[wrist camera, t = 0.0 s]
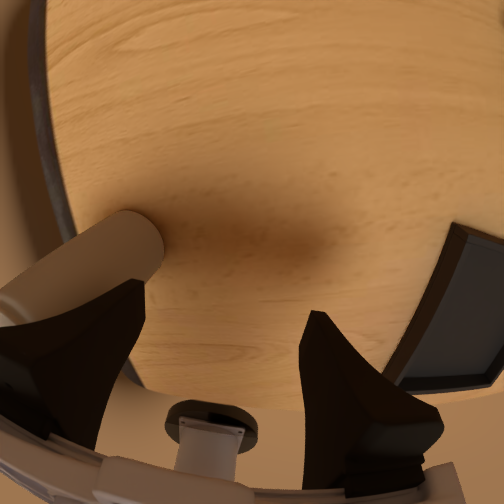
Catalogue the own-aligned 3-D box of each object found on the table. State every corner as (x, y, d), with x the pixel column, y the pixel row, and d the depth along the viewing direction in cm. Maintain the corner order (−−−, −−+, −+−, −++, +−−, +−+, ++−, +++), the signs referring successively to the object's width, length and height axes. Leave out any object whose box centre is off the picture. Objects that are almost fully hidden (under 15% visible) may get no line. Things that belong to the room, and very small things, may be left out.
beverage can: (103, 205, 18) (-36, 291, 7) (166, 210, 18) (32, 322, 7) (110, 269, 20) (3, 377, 9) (169, 278, 20) (75, 415, 9)
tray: (482, 374, 24) (490, 387, 22) (379, 377, 24) (385, 396, 22) (546, 256, 18) (559, 266, 16) (452, 221, 18) (469, 233, 15)
